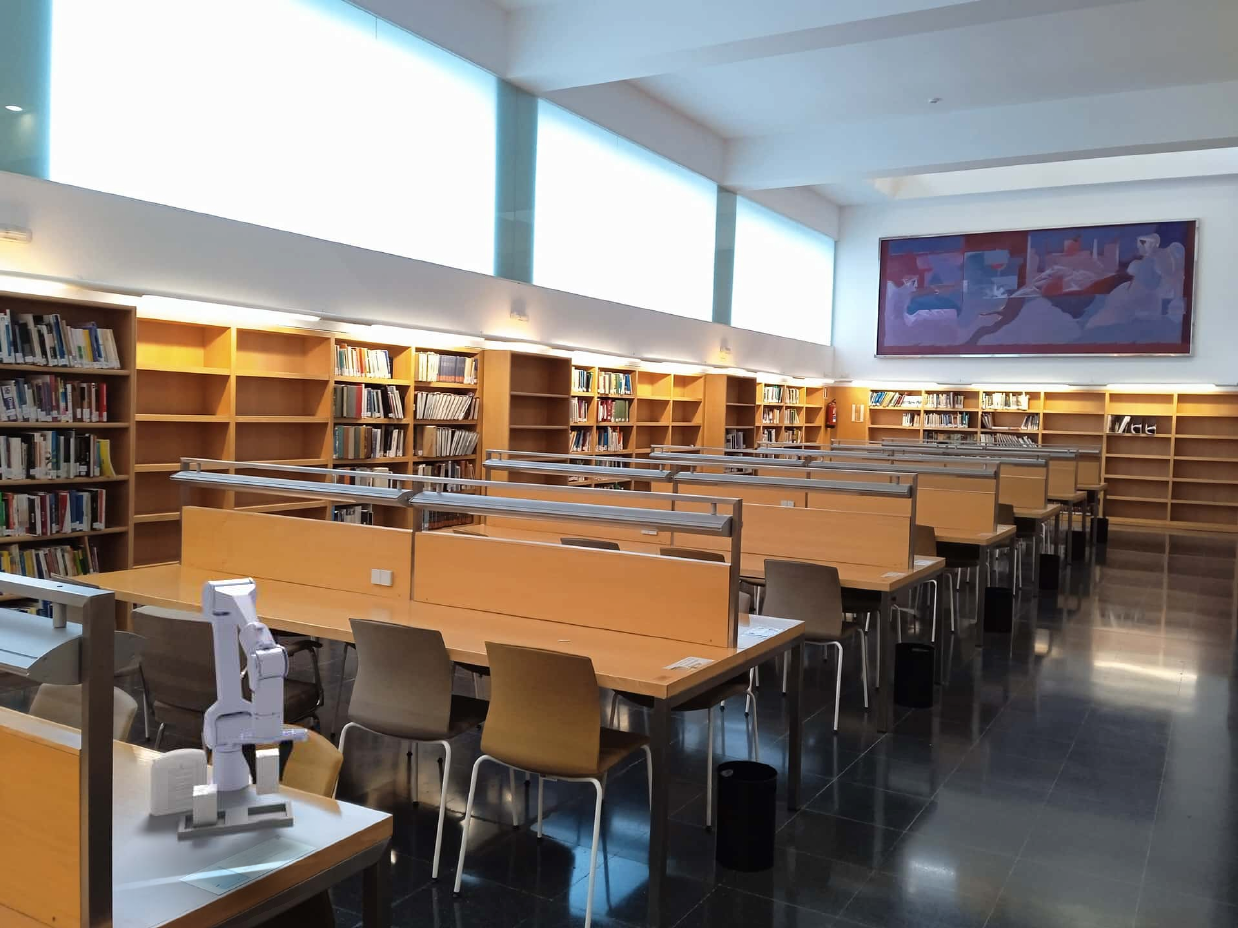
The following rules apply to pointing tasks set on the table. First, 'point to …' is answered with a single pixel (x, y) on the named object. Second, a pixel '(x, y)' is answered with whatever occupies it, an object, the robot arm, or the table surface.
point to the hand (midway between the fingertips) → (267, 780)
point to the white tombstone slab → (176, 780)
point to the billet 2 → (267, 771)
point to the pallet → (239, 819)
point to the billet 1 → (205, 806)
